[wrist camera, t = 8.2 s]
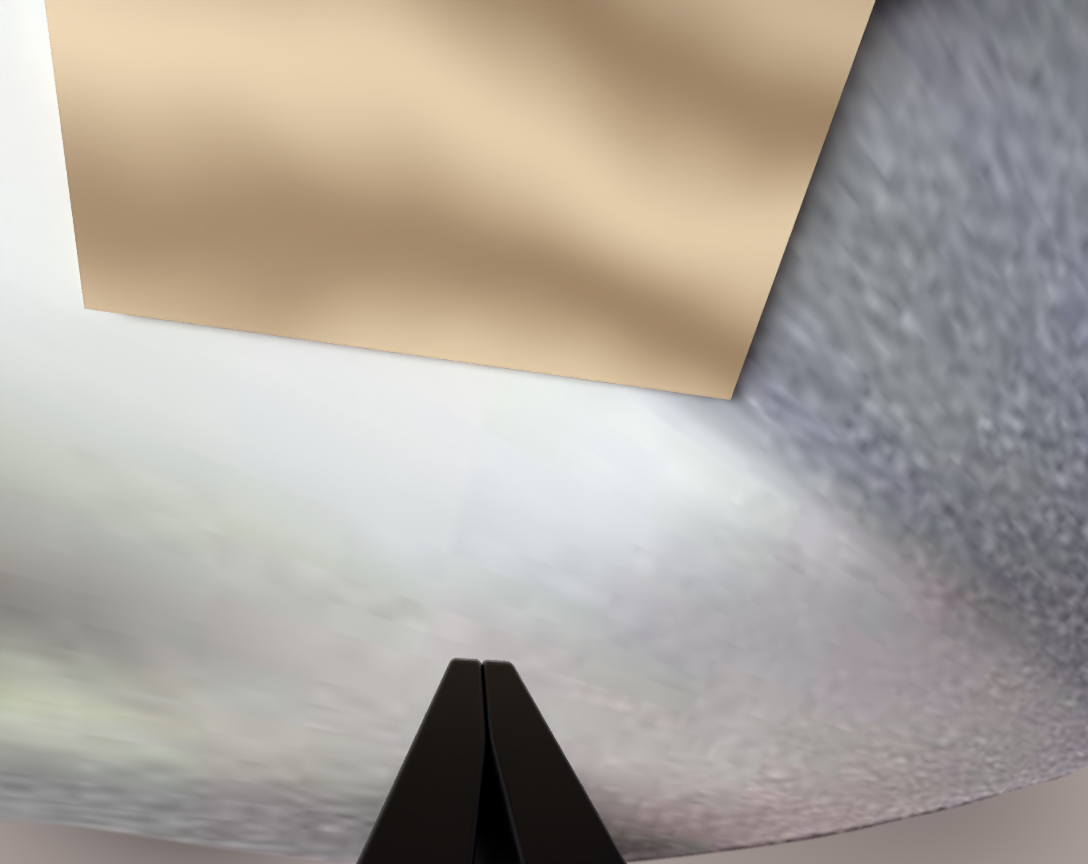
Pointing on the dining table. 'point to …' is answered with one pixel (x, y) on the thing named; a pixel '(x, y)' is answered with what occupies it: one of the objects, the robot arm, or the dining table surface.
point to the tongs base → (452, 171)
